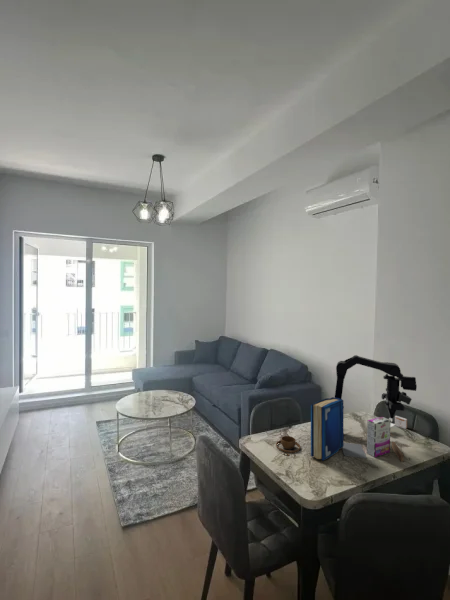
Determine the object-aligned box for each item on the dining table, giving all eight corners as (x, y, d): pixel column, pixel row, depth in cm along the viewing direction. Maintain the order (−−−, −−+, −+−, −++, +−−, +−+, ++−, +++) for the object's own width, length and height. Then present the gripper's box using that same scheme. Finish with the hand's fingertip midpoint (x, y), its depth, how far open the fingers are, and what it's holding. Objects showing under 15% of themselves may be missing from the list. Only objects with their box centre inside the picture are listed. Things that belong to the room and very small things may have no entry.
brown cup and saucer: (283, 438, 174) (284, 427, 174) (321, 449, 164) (322, 437, 163) (269, 452, 160) (270, 440, 159) (310, 464, 149) (310, 451, 149)
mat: (344, 455, 157) (344, 455, 157) (340, 442, 170) (340, 442, 170) (366, 458, 155) (366, 457, 155) (360, 444, 168) (360, 444, 168)
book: (332, 443, 169) (331, 394, 169) (346, 447, 164) (345, 397, 164) (310, 457, 154) (309, 403, 154) (324, 462, 149) (323, 406, 149)
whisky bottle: (389, 422, 199) (360, 437, 182) (389, 413, 199) (360, 427, 182) (407, 428, 191) (378, 444, 174) (407, 418, 191) (378, 434, 174)
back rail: (400, 461, 152) (400, 455, 152) (391, 447, 166) (392, 441, 166) (403, 461, 152) (403, 455, 152) (394, 447, 166) (394, 442, 166)
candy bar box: (381, 448, 165) (382, 416, 164) (390, 453, 160) (391, 419, 160) (365, 453, 160) (366, 419, 159) (374, 458, 155) (375, 423, 155)
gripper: (416, 395, 160) (415, 426, 161) (404, 384, 178) (402, 413, 179) (391, 392, 162) (390, 424, 163) (381, 382, 181) (380, 411, 181)
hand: (391, 417), depth 171 cm, fingers closed
